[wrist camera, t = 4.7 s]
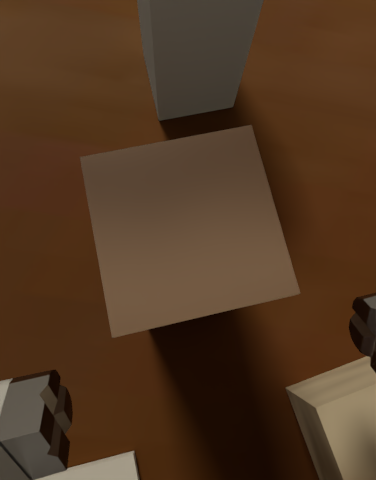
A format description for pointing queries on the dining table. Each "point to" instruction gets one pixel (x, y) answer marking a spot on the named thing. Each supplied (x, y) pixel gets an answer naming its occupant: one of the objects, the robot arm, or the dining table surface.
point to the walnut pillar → (185, 230)
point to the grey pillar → (196, 52)
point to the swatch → (102, 469)
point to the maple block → (339, 420)
